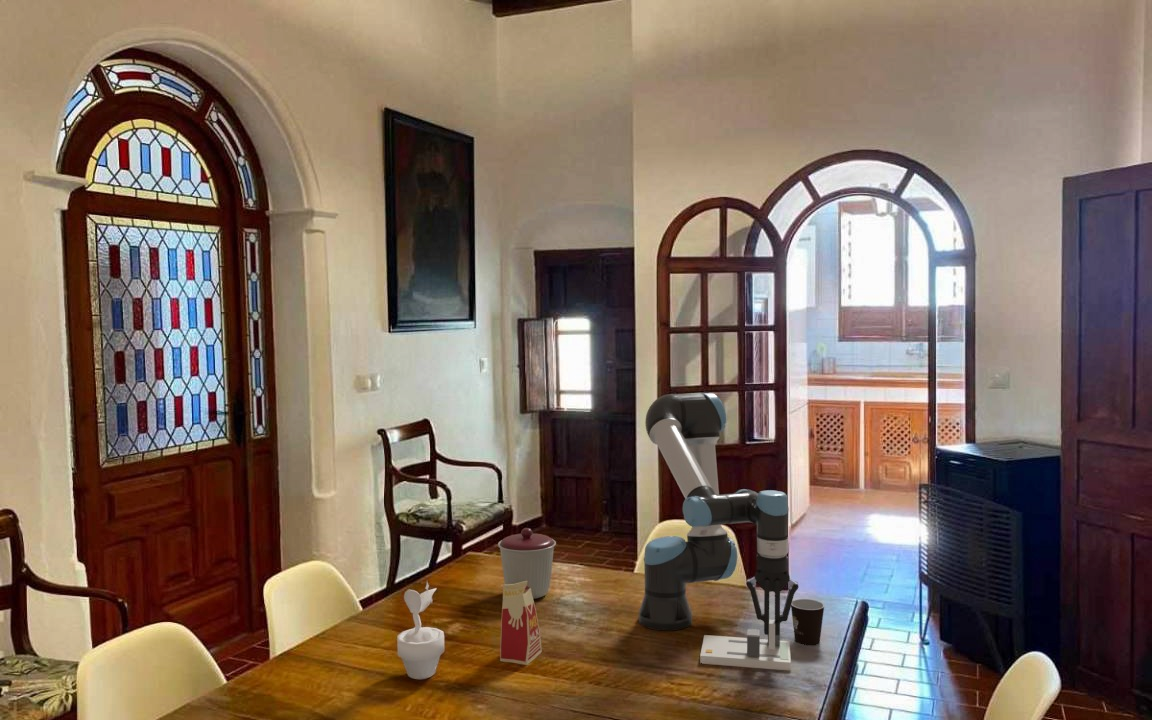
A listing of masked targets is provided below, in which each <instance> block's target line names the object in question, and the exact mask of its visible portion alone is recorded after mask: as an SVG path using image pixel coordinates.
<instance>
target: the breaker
mask: <svg viewBox="0 0 1152 720" xmlns="http://www.w3.org/2000/svg"><path fill="white" fill-rule="evenodd" d="M769 620H774V619H771V618H769ZM767 639H768V645H769V635H767ZM780 640H781V633H780V634H779V635H775V646H780Z"/></svg>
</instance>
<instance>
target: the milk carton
mask: <svg viewBox="0 0 1152 720" xmlns="http://www.w3.org/2000/svg"><path fill="white" fill-rule="evenodd" d="M500 587H501V588H502V606H501V607H502V608H501V621H500V624H501V625H500V640H499V641H500V646H499V648H500V652H499V653H500V654H499V661H500V662H504V663H512V664H513V663H514V664H519V665H523V666H528V665H529V664H530V663H531V662H532V661H534V660H535V659H536V658H537V657H538V656H539V655H540V654H541V653H542V651H543V650H542V640H541V631H540V625H539V621H538V620H539V619H538V614H537V609H536V604H535V601H534V600H535V599H533V596H532V592H531V588H530V587H528V586H527V581H524V582H520V583H516V584H507V585H505V584H500Z"/></svg>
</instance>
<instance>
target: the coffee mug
mask: <svg viewBox="0 0 1152 720" xmlns="http://www.w3.org/2000/svg"><path fill="white" fill-rule="evenodd" d="M790 611H791V616H792V617H791V618H792V624H793V633H794V634H793V635H794V641H795V643H796V644H798V645H801V646H807V647H809V646H810V647H812V646H817V645H819V644H820V643H821V635H822V627H823V621H824V620H823V618H824V611H825V604H824V603H823V602H822V601H818V600H817V599H816V600H815V599H811V598H810V599H809V598H798V599H793V600H792V604H791V608H790Z"/></svg>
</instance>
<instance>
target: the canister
mask: <svg viewBox="0 0 1152 720" xmlns="http://www.w3.org/2000/svg"><path fill="white" fill-rule="evenodd" d="M556 545H557V541H556V540H554V539H553V538H551V537H549V536H548V535H546V534H542V533H534V532H533V530H532V528H530V527H524V528H523V529H522V530H521V532H520V533H517V534H511V535H509V536H506V537H504V538H503V539H501V540H500V541H498V543H497V546H498V548H499V549H500V559H501V567H502V575H503V580H504V585H507V584H516V583H520V582H524V581H527V586H528V587H530V588H531V592H532V596H533V600H536V599H539V598H542V597H544V596H546V595H547V594H548V592H549V590H550V585H551V579H552V571H553V561H554V560H553V558H554V550H555V548H554V547H555V546H556Z"/></svg>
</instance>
